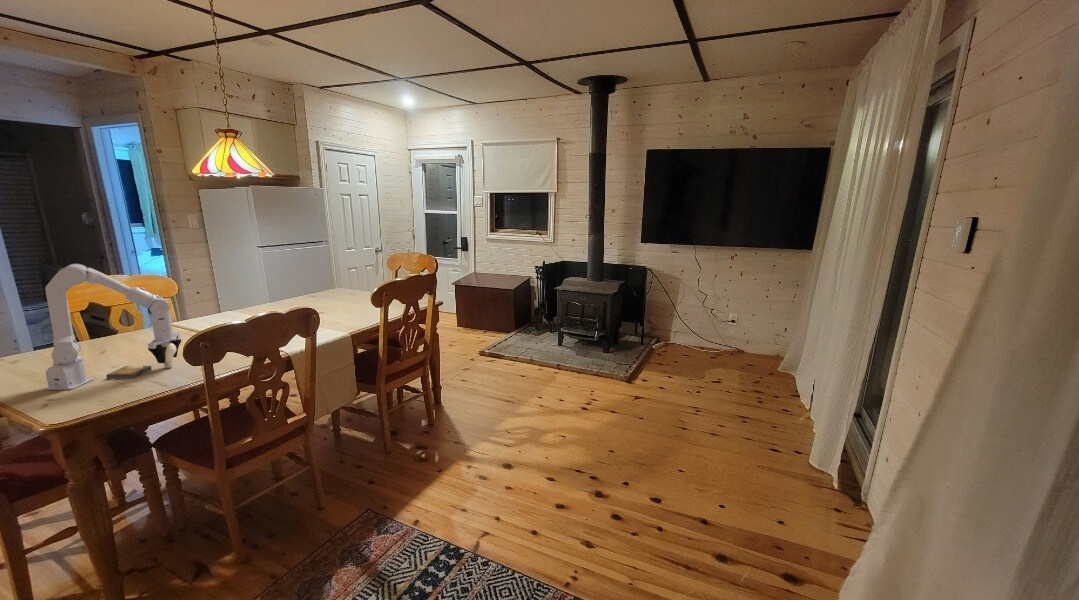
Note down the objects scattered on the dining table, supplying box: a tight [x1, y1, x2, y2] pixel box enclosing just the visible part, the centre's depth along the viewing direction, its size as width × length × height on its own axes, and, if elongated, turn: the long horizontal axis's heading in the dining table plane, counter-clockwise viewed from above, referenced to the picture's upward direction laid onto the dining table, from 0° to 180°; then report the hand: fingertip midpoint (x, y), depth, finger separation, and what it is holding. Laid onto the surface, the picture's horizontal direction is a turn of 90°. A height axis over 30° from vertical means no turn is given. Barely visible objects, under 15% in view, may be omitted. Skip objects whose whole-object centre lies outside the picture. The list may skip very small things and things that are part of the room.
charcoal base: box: [105, 365, 152, 380], centre depth 165 cm, size 9×9×2 cm
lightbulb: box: [161, 342, 176, 369], centre depth 172 cm, size 6×6×11 cm
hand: (167, 360), depth 172 cm, fingers closed on lightbulb, 6 cm apart
